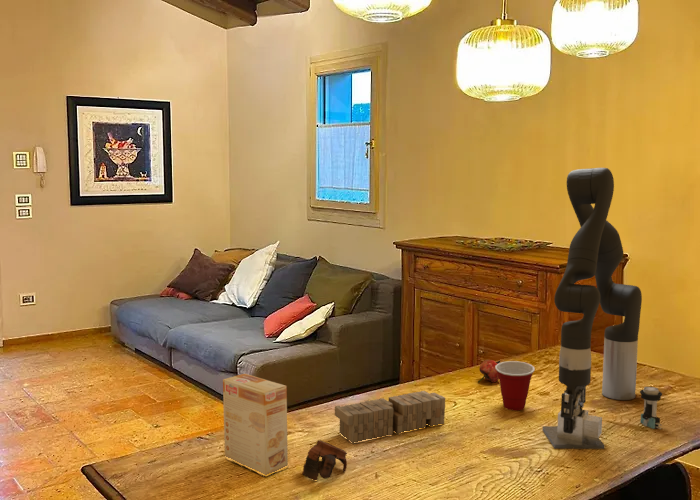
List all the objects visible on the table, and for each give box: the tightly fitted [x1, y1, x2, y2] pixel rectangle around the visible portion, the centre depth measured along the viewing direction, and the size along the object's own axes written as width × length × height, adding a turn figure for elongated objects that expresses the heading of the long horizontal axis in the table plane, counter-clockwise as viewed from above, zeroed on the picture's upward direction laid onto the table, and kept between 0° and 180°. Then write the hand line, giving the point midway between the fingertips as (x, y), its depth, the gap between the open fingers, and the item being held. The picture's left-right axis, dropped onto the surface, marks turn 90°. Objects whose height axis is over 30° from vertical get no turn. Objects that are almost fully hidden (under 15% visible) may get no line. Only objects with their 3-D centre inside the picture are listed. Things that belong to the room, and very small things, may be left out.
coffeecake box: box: [222, 373, 289, 475], centre depth 165 cm, size 15×7×20 cm, turn 47°
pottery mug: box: [302, 439, 348, 481], centre depth 160 cm, size 12×10×8 cm
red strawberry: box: [477, 359, 501, 383], centre depth 227 cm, size 7×7×10 cm
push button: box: [639, 386, 663, 430], centre depth 188 cm, size 7×5×10 cm
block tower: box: [334, 390, 446, 444], centre depth 186 cm, size 8×8×29 cm
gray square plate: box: [542, 404, 605, 450], centre depth 179 cm, size 12×12×9 cm
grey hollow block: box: [557, 408, 603, 441], centre depth 179 cm, size 10×6×6 cm, turn 59°
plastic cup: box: [495, 360, 536, 412], centre depth 202 cm, size 11×11×12 cm
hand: (572, 427), depth 180 cm, fingers open, 8 cm apart
